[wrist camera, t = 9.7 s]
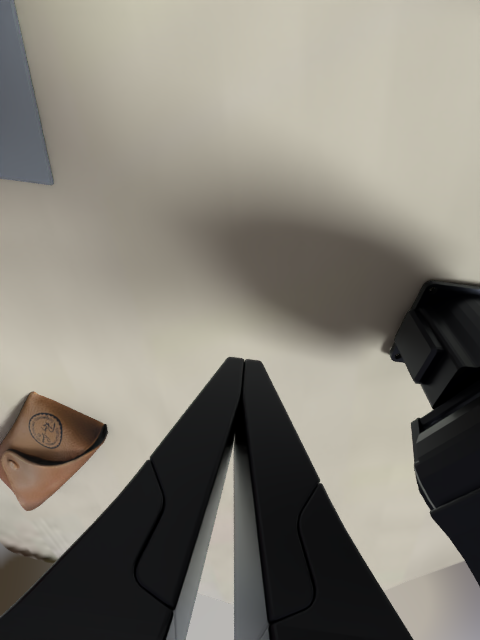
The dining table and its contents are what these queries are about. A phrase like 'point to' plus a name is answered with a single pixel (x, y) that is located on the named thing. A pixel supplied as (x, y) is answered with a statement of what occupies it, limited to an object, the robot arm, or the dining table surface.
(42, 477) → the sunglasses case
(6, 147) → the mat
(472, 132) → the dining table surface
